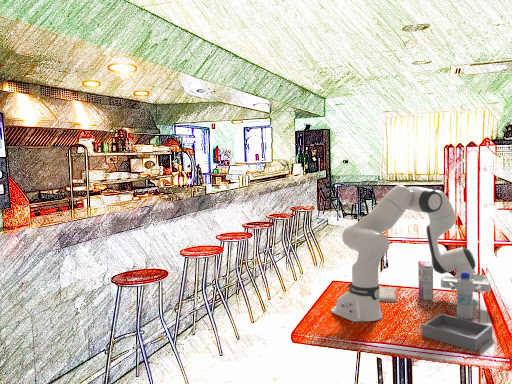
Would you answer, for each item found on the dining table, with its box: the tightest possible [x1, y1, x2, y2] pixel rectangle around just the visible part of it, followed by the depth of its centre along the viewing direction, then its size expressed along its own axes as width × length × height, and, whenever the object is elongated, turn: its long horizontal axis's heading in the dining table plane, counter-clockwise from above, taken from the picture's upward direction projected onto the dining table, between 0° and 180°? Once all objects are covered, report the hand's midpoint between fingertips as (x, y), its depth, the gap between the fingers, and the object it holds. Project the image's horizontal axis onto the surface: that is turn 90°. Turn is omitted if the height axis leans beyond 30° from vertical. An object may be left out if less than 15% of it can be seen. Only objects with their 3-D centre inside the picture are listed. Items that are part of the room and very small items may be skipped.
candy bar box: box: [417, 260, 434, 301], centre depth 221 cm, size 11×5×16 cm, turn 171°
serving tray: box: [421, 313, 493, 352], centre depth 175 cm, size 20×16×4 cm
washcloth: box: [379, 285, 397, 303], centre depth 225 cm, size 12×18×3 cm, turn 166°
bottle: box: [455, 272, 475, 321], centre depth 192 cm, size 7×7×20 cm
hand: (464, 289), depth 198 cm, fingers open, 8 cm apart
